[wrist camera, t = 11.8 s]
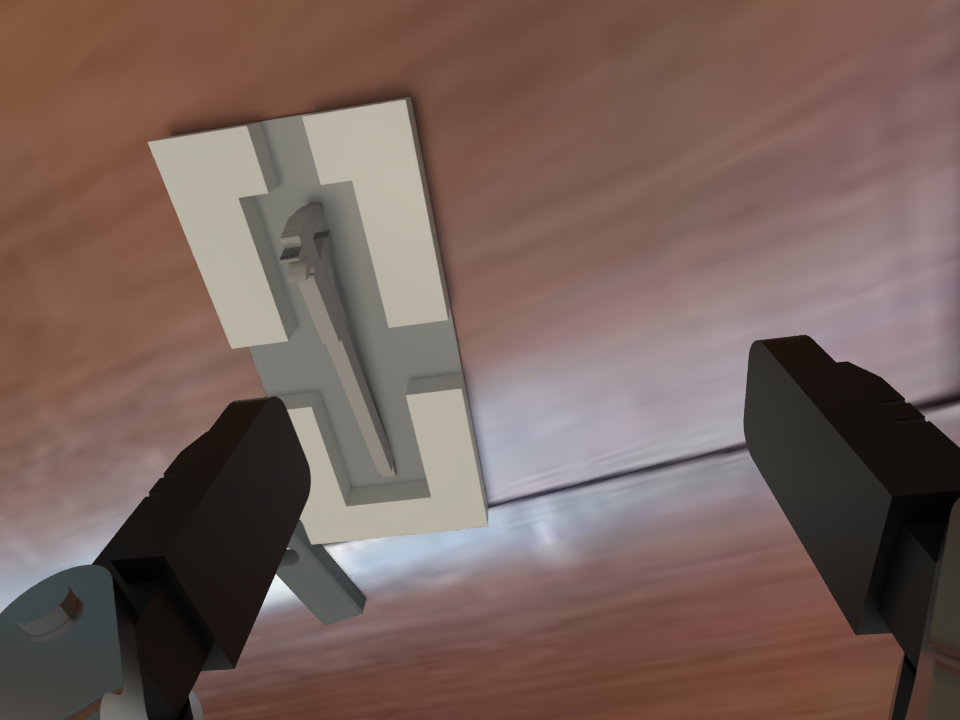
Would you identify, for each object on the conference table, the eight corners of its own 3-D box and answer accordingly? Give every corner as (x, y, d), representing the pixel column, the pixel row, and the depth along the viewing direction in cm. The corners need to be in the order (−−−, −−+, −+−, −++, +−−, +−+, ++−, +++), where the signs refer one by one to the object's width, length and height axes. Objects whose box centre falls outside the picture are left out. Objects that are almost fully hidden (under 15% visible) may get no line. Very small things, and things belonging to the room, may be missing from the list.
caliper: (304, 203, 33) (267, 233, 28) (322, 200, 33) (289, 230, 28) (384, 473, 43) (369, 536, 38) (398, 472, 43) (385, 534, 37)
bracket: (329, 607, 52) (324, 628, 50) (257, 528, 47) (248, 547, 45) (368, 594, 51) (364, 614, 49) (298, 512, 46) (291, 531, 45)
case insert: (411, 96, 31) (405, 99, 29) (488, 503, 45) (487, 526, 43) (171, 136, 32) (147, 142, 30) (319, 521, 46) (311, 544, 44)
